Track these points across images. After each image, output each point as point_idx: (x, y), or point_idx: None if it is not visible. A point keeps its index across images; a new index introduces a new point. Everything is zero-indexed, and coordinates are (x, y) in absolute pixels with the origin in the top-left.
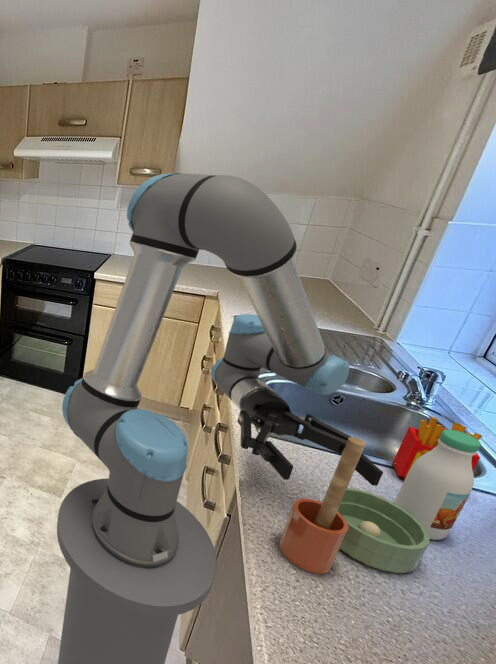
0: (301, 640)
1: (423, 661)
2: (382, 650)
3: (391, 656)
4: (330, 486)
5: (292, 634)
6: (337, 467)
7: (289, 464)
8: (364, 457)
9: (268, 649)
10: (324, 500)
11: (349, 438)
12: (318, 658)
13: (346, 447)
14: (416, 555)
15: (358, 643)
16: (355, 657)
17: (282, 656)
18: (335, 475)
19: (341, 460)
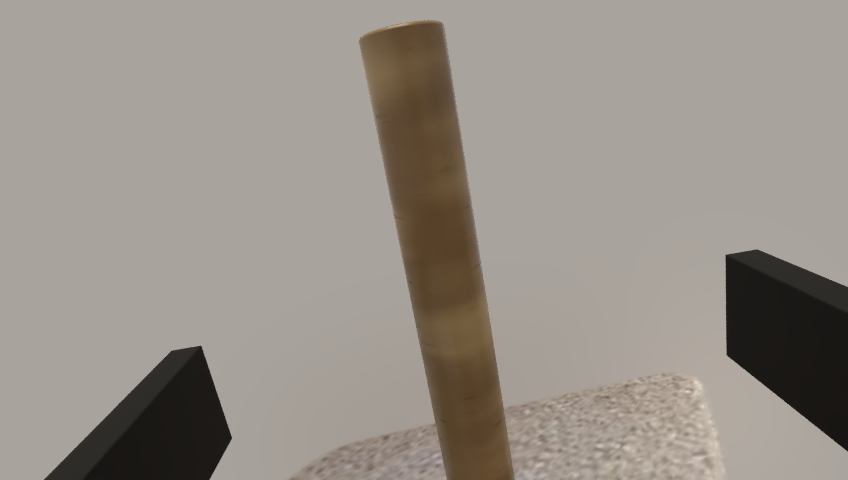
0: (628, 445)
1: (394, 469)
2: None
3: None
4: (495, 367)
5: (645, 451)
6: (477, 243)
7: (753, 256)
8: (90, 442)
9: (698, 415)
10: (509, 456)
11: (432, 20)
12: (601, 425)
13: (451, 85)
14: None
15: None
16: (527, 444)
17: (671, 412)
18: (484, 290)
19: (467, 184)
